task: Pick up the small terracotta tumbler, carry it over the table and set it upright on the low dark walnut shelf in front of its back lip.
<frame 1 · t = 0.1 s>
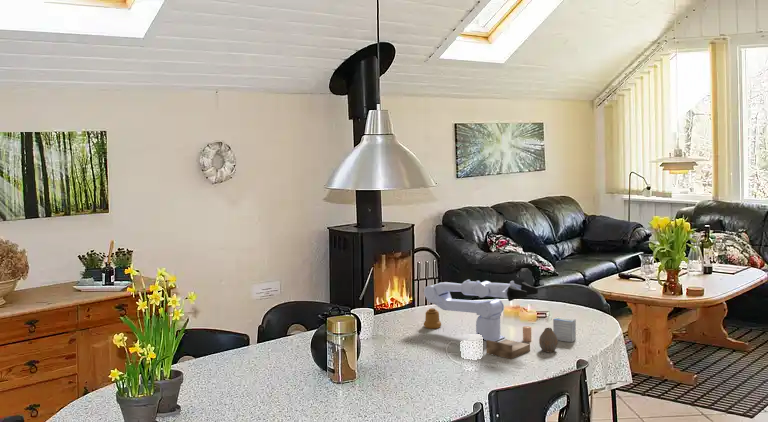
hand: (532, 292, 301), 22 cm above the table, tool horizontal, fingers open, 7 cm apart
medicine box: (564, 340, 312), on the table
ornamental finial: (432, 327, 337), on the table
low shelf: (508, 352, 299), on the table
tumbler: (527, 340, 313), on the table
vase: (548, 351, 299), on the table
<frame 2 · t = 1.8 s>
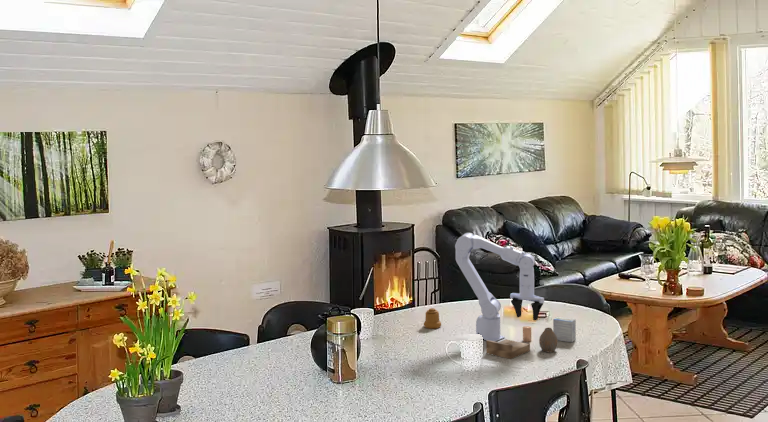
hand: (527, 318, 311), 9 cm above the table, tool pointing down, fingers open, 7 cm apart
nothing on the table moved.
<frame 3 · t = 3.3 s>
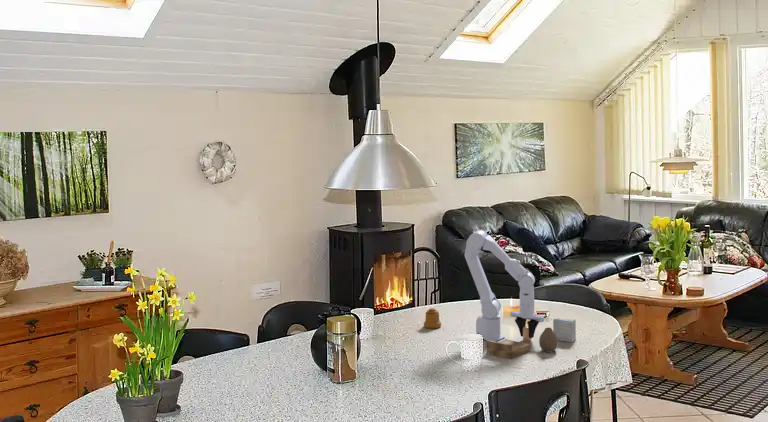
hand: (527, 336, 312), 2 cm above the table, tool pointing down, fingers closed on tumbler, 3 cm apart
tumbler: (527, 340, 313), on the table, touching gripper
everything else where it was.
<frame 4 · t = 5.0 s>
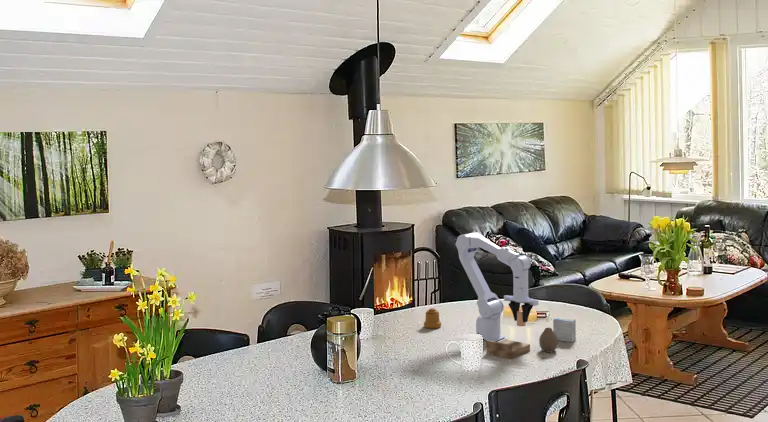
hand: (521, 321, 307), 9 cm above the table, tool pointing down, fingers closed on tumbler, 3 cm apart
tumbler: (521, 325, 307), point 8 cm above the table, touching gripper
everything else where it was.
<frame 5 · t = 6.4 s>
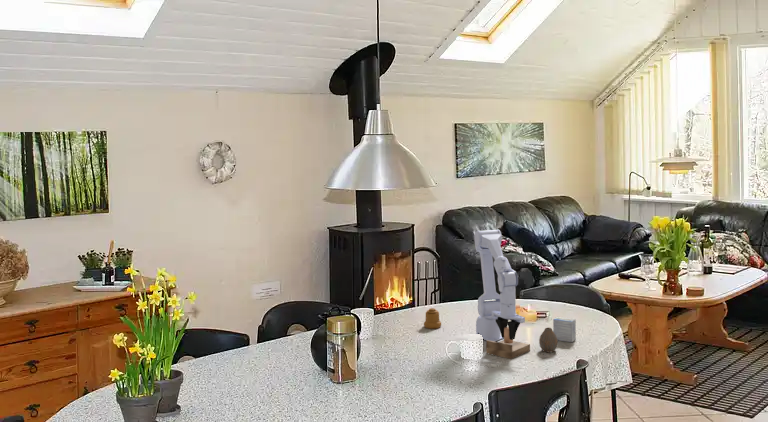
hand: (508, 338, 298), 5 cm above the table, tool pointing down, fingers closed on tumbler, 3 cm apart
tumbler: (508, 342, 298), point 4 cm above the table, touching gripper
everything else where it was.
when the fingers open (5 cm above the table, at t = 7.2 s): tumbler stays where it is, resting on low shelf.
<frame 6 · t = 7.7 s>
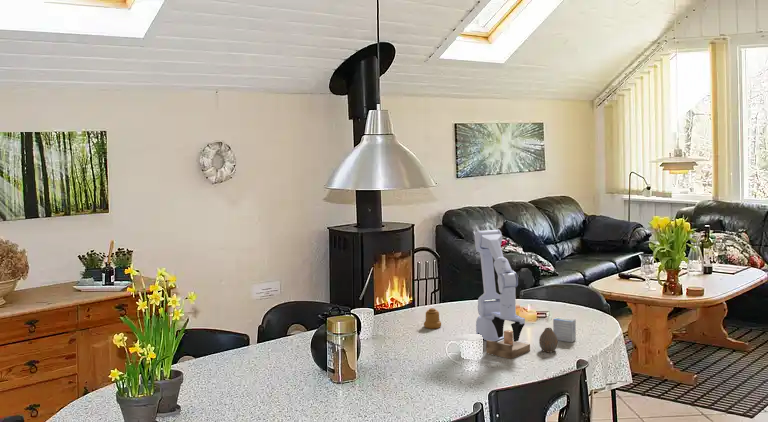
hand: (508, 339, 298), 5 cm above the table, tool pointing down, fingers open, 7 cm apart
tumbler: (508, 345, 298), point 3 cm above the table, touching low shelf
everything else where it was.
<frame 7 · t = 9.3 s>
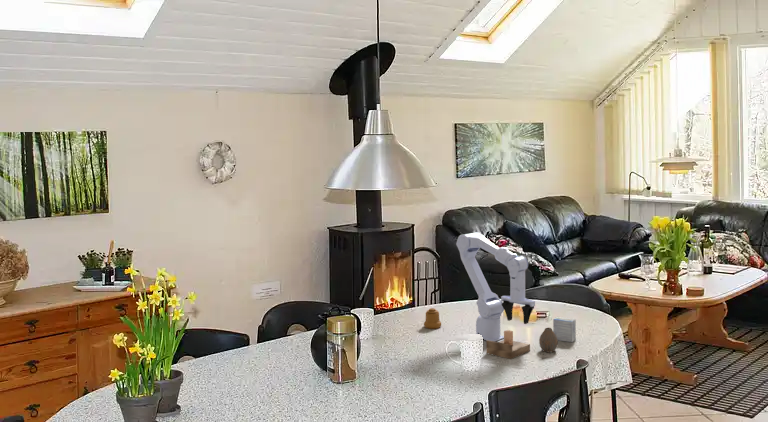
hand: (517, 321, 306), 9 cm above the table, tool pointing down, fingers open, 7 cm apart
nothing on the table moved.
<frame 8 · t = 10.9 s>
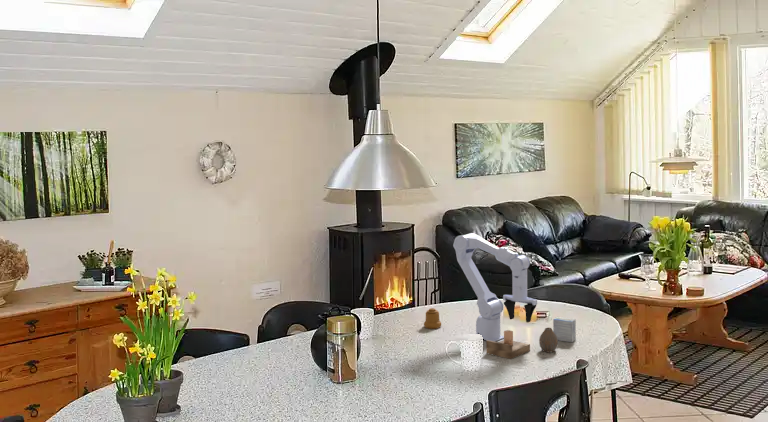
hand: (520, 320, 308), 9 cm above the table, tool pointing down, fingers open, 7 cm apart
nothing on the table moved.
at the end: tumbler inside the target area (0.2 cm from its centre), point 2.5 cm above the table; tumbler tilted 0°; the gripper is holding nothing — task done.
